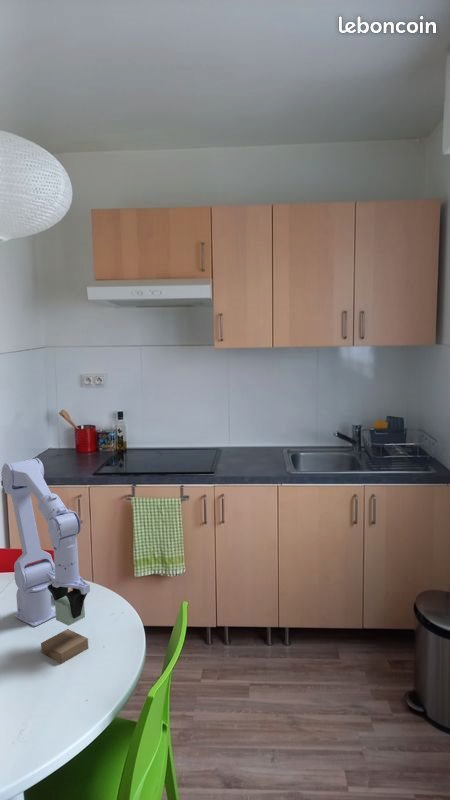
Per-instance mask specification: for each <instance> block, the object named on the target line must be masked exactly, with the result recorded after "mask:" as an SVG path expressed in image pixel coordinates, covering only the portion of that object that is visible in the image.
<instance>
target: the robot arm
mask: <svg viewBox="0 0 450 800" xmlns="http://www.w3.org/2000/svg"><path fill="white" fill-rule="evenodd" d="M44 468H45V467H44V464H43V462H42V461H41V460H40V458H38V457H35V458H31V459H27V460H20V461H14V462H5V463H4V464H3V465H2V467H1V472H0V473H1V480H2V485H3V490H4V493H5V494H6V495H9V496H11V497H10V498H11V500H12V506H13V511H14V515H15V520H16V525H17V526H16V527H17V532H18V537H19V541H20V546H21V552H22V554H21V555H20V556H19V557H18V558H17V560H16V561H15V562H14V566H13V569H14V580H15V582H14V583H15V585H16V586H17V590H16V608H17V613H16V614H14V617H15V618H17V619H19V620H20V621H22V622H24V623H26V624H28V625H29V626H32V627H37V626H39V625H41V624H43V623H45V622H47V621H49V620H51V619H53V618H56V611H55V610H53V609H52V597H53V599H54V602H55V601H56V600H58V599H60V598H62V597H64V596H67V598H68V600H69V603H70V607H71V614H72V617H73V618H77V617H79V616H81V612H82V607H83V603H84V604H85V600H86V597H87V595H88V594H89V593H90V592H91V585H90V583H88V582H86V581H85V580H84V579H83V578H82V576H81V575H80V569H79V568H80V567H79V550H78V549H79V546H78V535H79V534H80V533H81V529H82V523H81V519H80V517H79V515H78V513H77V512H76V511H75V510H74V511H73V510H72V509H68V508H67V506H66V505H65V503H63V500H61V498H60V496H59V495H58V494H56V493H54V492H53V493H52V491H51V490H50V488H49V485H47V482H46V480H45V479H44V475H45V469H44ZM31 494H32V495H33V496H34V497H35V499H36V500H37V501H38V503H37V509H38V510H39V512H40V514H41V515H42V517H43V518H44V520H45V522H46V523H47V531H48V535H49V537H50V538H49V539H50V544H51V546H52V548H53V558H52V554H51V553H49V552H47V551H45V550H43V549H42V547H41V541H40V537H39V531H38V528H37V522H36V517H35V512H34V507H33V501H32V497H31ZM68 588H72V589H73V591H70V592H68ZM51 595H52V596H51Z"/></svg>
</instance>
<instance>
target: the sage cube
mask: <svg viewBox="0 0 450 800" xmlns="http://www.w3.org/2000/svg"><path fill="white" fill-rule="evenodd" d="M54 609H55V610H54V611H55V612H56V616H55V621H58V622H60V623H61V624H64V625H67V626H71V625H72V624H75V623H77V622H78V621H81V620H83V619H84V618H85V617H86V614H85V613H86V611H85V602H84V603H83V607H82V612H81V616H79V617H77V618H73V617H72V614H71V607H70V603H69V600H68V598H67V596H64V597H62V598H60V599H58V600H56V601H55V600H54Z"/></svg>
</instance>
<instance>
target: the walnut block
mask: <svg viewBox="0 0 450 800" xmlns="http://www.w3.org/2000/svg"><path fill="white" fill-rule="evenodd" d="M40 646H41V654H43V655H45V656H47V657H49V658H50V659H52V660H54V661H56V662H57V663H59V664H61V665H62V664H65V663H66V662H67V661H69V660H71V659H73V658H74V657H76V656H78V655H80V654H82V653H84V652H85V651H87V650H89V638H87V637H85V636H83V635H81V634H80V633H77V632H75V631H73V630H71V629H69V628H66V629H64V630H63V631H61V632H59V633H58V634H56V635H53V636H52V637H49V638H48V639H46V640H44V641H42V642H41V643H40Z"/></svg>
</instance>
